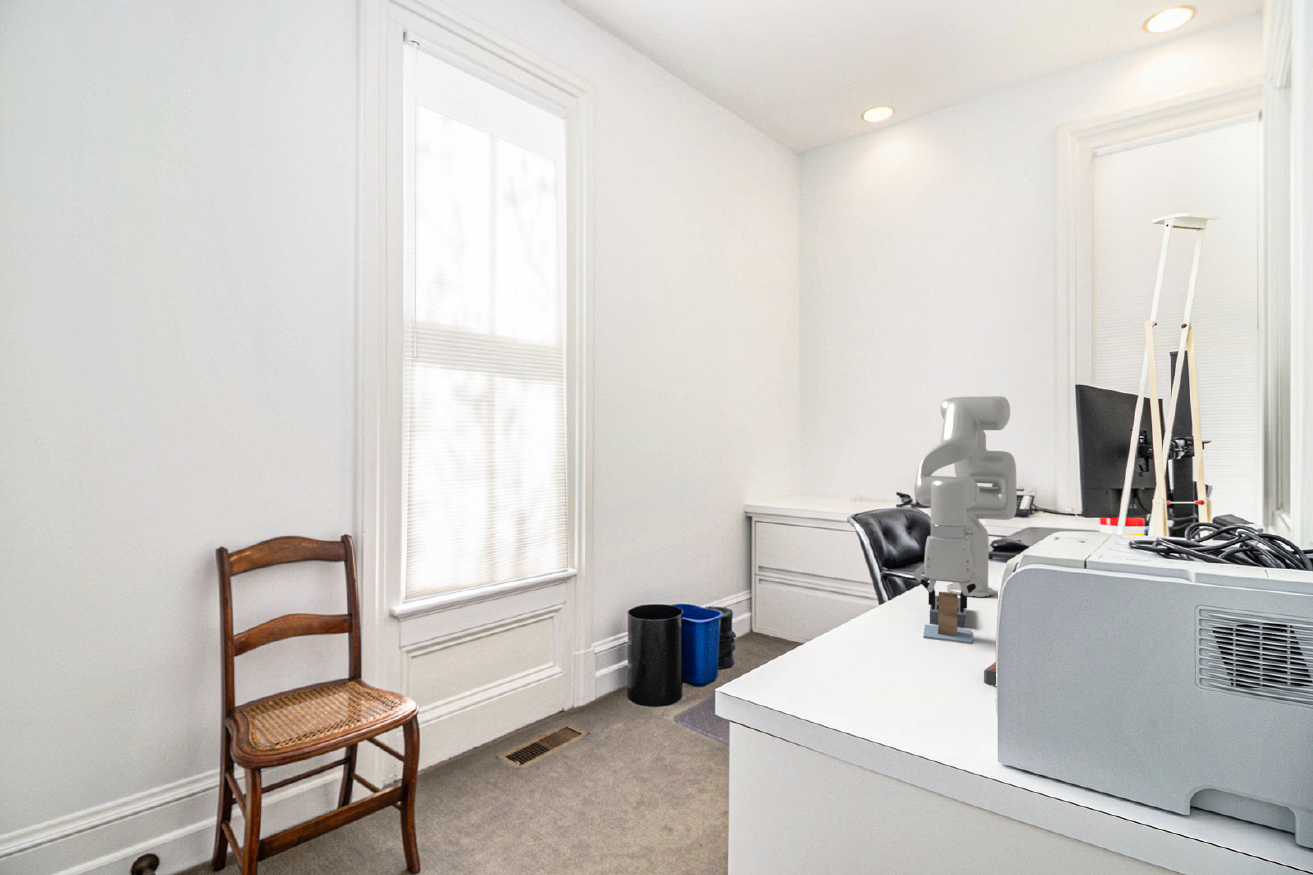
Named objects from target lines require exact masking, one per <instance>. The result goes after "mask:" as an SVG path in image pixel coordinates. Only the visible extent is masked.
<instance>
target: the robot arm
mask: <svg viewBox="0 0 1313 875" xmlns="http://www.w3.org/2000/svg"><path fill="white" fill-rule="evenodd" d="M940 414H941V417H942V419H943V424H942V429H941V430H942V431H941V437H940V442H939V444H937V445H936V446H934V447H933V448H932V449H931V450H929V451H928V452H927V453H926V454H925V455H924V457H923V458H922V459H921V461H920V462H919V465H918V467H917V471H916V472H917V473H916V478H915V482H914V483H915V484H914V496H915V499H916V502H918V504H920V505H922V506H925V507H930V535H928V536H927V537H926V542H925V548H924V562H923V564H921V565H920V566H919V568H917V569H916V570H915V571H914V572H913V574H912V576H913V577H914V578H915V580H916V581H918V582H919V583H920V584H921V585H922V587H923V588H925V590H926V591H927V593H928V606H929V605H930V606H931V605H932V610H934V609H935V595H936V590H935V586H936V584H937V581H938V582H949V583H951V584H947V585H946V590H947V591H948V592H949V591H950V592H949V593H957V594H958V595H959V596H960V597H959V598H960V612H961V613H964V608H965V610H966V609H968V597H973V596H975V598H978V597H979V598H984V597H985V596H988V597H990V596H989V595H992V596H994V594H995V590H994V589H993V588H991V587H989V538H990V537H989V533H988V530H987V529H986V527H985V526H984V525H983V524H982V522H980V520H998V521H999V520H1001V521H1007V520H1012V519H1013V518H1014V517H1015V516H1016V514H1017V507H1018V505H1017V503H1018V502H1017V501H1018V500H1017V499H1018V496H1017V493H1018V492H1017V490H1018V489H1017V466H1016V460H1015V457H1014V455H1013V454H1012V453H1010V452H1008V451H1004V450H988V449H987V435H986V432H985V431H1002V430H1003V429H1005V427H1006V426H1007V425H1008V423H1009V420H1010V417H1011V405H1010V402H1009V401H1008V399H1007V397H1005V396H1001V395H1000V396H998V395H997V396H996V395H995V396H994V395H993V396H990V395H989V396H956V397H949V398H945V399H943V401H942V402H941V403H940ZM950 465H954V475H955V476H941V475H933V474H934V473H935V472H937V471H938V470H939V469H942V468H943V467H944V468H945V467H946V466H950ZM978 484H990V485H996V486H984V485H978ZM923 573H924V577H925V578H924V577H923V576H922V574H923ZM927 579H928V580H929V581H928V580H927ZM985 598H986V597H985Z"/></svg>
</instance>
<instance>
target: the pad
mask: <svg viewBox="0 0 1313 875" xmlns="http://www.w3.org/2000/svg"><path fill="white" fill-rule="evenodd" d="M923 628H924V629H923V637H922V638H923V639H930V640H931V639H932V640H939V641H945V642H946V641H947V642H953V643H954V642H955V643H963V644H971V645H972V644H973V640H972V631H971V629H968V628H960V627H957V636H950V635H943V634H938V625H935V624H924V627H923Z"/></svg>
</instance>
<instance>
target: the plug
mask: <svg viewBox="0 0 1313 875" xmlns="http://www.w3.org/2000/svg"><path fill="white" fill-rule="evenodd" d="M958 595H959V594H957V593H952V592H949V591H948V592H947V591H939V590H938V596H939V605H938V624H937V626H938V634H943V635H950V636H957V628H958V627H957V610H958V598H959V597H958Z"/></svg>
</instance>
